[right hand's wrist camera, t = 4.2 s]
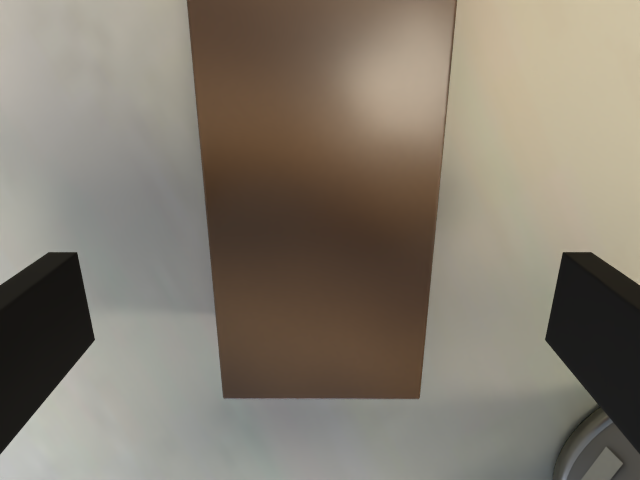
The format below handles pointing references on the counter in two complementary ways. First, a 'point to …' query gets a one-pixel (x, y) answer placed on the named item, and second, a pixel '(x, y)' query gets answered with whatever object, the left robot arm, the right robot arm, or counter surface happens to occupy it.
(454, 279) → the counter surface
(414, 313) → the long beam
